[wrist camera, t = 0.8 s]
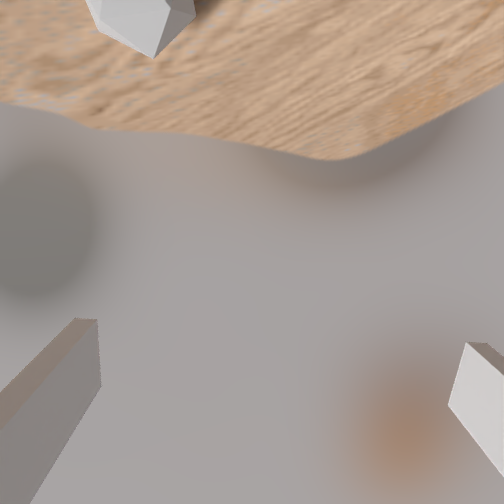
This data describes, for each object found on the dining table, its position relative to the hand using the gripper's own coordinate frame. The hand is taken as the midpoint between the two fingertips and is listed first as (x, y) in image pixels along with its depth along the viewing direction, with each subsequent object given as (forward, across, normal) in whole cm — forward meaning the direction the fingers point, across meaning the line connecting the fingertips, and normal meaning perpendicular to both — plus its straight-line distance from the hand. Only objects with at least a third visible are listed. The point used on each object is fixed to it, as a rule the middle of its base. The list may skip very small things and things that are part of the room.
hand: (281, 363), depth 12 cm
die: (+24, -12, +20) cm, 33 cm away
